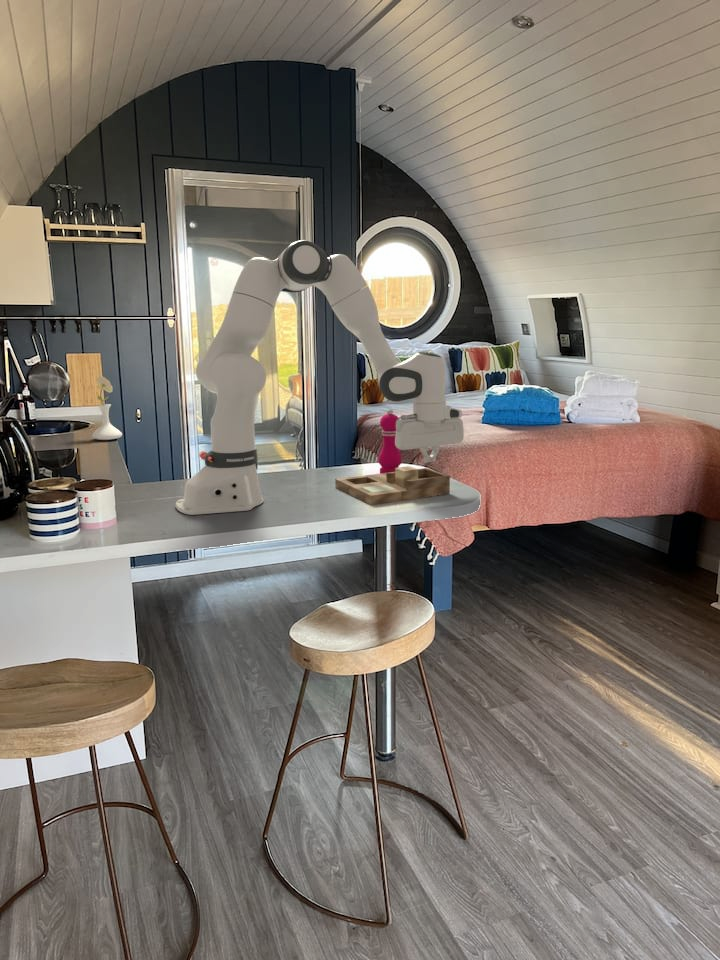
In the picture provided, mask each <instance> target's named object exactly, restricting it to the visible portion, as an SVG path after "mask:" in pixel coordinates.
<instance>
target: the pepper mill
mask: <svg viewBox="0 0 720 960" xmlns="http://www.w3.org/2000/svg"><path fill="white" fill-rule="evenodd" d="M386 413H387V414H384V415H383V416H382V417H381V418H380V420H379V425H380V427H381V429H382V430H381V435H382V437H383V440H382V442H383V444H382V447H381V450H380V453H379V454H378V457H377V458H378V459H377V461H378V465H380V468H379V474H381V473H389V472H395V468H399V467H400V466H401V465H402V461H403V458H402V457H403V456H402V454H401V452H400V449H398V448H397V447H396V446H395V435H396V420H397V419H398V418H399V416H398V415H395V414H394V411H393V409H392V408H388V409H387V410H386Z"/></svg>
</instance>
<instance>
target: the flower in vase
mask: <svg viewBox="0 0 720 960" xmlns="http://www.w3.org/2000/svg"><path fill="white" fill-rule="evenodd" d="M96 381H97V384H98V385H99V386H100V387H101V389H100V394H98V395H97V400H98V401H99V400H100V401H101V402H102V404H98V405H97V406H98V407H99V409H100V411H101V414H102V424H101V425H100V426H99V427H98V428H97V429H96V430H95V431H94V432H93V433H92V434H91V435H92V437H91V438H93V439H95V440H99V441H111V440H115V439H119V438H121V437H122V436H123V433H122V432H121V431H120V430H119V429H118V428H116V427H115V426H114V425H113V424H112V423H110V419H109V417H110V416H109V415H110V414H109V413H110V412H109V411H110V409H111V406H112V404H110V403H104V401H106V400H107V399H109V395H107V397H105V398H104V399H102V391H103V390H104V391H105V392H107V393H109V394H111V393H112V392H113V391H114V390H113V389H114V387H113V386H112V384H111V381H110V380H108V379H107V378H105V376H101V375H99V376H98V377H97V378H96Z"/></svg>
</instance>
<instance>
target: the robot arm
mask: <svg viewBox="0 0 720 960" xmlns="http://www.w3.org/2000/svg"><path fill="white" fill-rule="evenodd" d="M310 287H314V288H317V289H319V291H321V292H322V294H323V295H324V296H325V298H326V300H327V301H328V303H329V305H330V307H331V309H332V311H333V312H334V314H335V316H336V317H337V319H338V320H339V321H340V322H341V324H342V325H343V326H344V327H345V328H346V329H347V330H348V331H349V332H350V333H352V334H353V335H354V336H355V337H356V338H357V339H358V341H360V342H361V344H362V346H363V347H364V349H365V351H366V353H367V354H368V356H369V358H370V360H371V362H372V364H373V365H374V368H375V371H376V382H377V386H378V388H379V391H380V393H381V394H382V396H383V397H384V398H385V399H386V400H388V401H390V402H393V403H399V402H404V401H408V400H412V405H413V406H412V413H410V414H403V415H400V416H398V419H397V420H396V435H395V446H396V447H397V448H398V449H399V451H400V450H401V451H406V450H407V451H408V450H417V449H419V452H420V453H421V455H422V457H423V463H424V464H431V463H436V462H437V461H436V460H437V455H438V454H439V451H440V446H447V445H449V446H450V445H457V444H461V443H462V442H463V440H464V435H465V434H464V433H465V432H464V430H465V429H464V422H463V420H462V419H461V418H462V416H463V411H462V410H461V409H458V408H455V407H451V406H449V405H447V400H446V396H445V390H446V386H447V373H446V371H447V370H446V365H445V364H446V363H445V360H444V358H443V357H442V356H441V355H439V354H437V353H433V352H430V351H417V352H415V353H414V354H413V355H412V356H410V357H409V358H407V359H405V360H403V361H400V360H399V359H398V358H397V356H396V355H395V353H394V352H393V349H392V348H391V346H390V345H389V342H388V341H387V338H386V337H385V335H384V333H383V331H382V327H381V325H380V321H379V317H380V316H379V310H378V307H377V303H376V300H375V298H374V295H373V293H372V291H371V289H370V287H369V285H368V284H367V282H366V280H365V278H364V276H363V275H362V274H361V272H360V271H359V269H358V267H356V265H355V264H354V262H353V261H352V260H351V259H350V258H349V257H348V256H347V255H346V254H342V253H337V254H332V255H330V253H328V252H327V251H325V250H323V249H322V248H321V247H320V246H318V245H317V243H314V242H312V241H310V240H305V239H303V240H297V241H294V242H292V243H290V245H288V246H287V247H286V248H285V249H284V250H282V252H281V253H280V254H279V256H278V257H277V258H276V259H274V260H273V259H272V260H271V259H269V258H266V257H259V256H258V257H252V258H250V259H249V260H247V262H246V263H245V265H244V266H243V268H242V270H241V272H240V274H239V276H238V278H237V280H236V283H235V285H234V288H233V290H232V294H231V297H230V300H229V303H228V306H227V309H226V312H225V315H224V318H223V321H222V323H221V325H220V327H219V329H218V331H217V333H216V334H215V336H214V338H213V340H212V342H211V344H210V346H209V348H208V349H207V351H206V353H205V354H204V355H203V356H202V357H201V358H200V359H199V360H198V361H197V364H196V368H195V375H196V379H197V380H198V382H199V384H200V385H201V386H202V387H204V389H206V390H207V391H209V392H210V393H213V394H216V403H215V409H214V413H213V415H212V417H211V418H210V421H209V422H210V439H211V442H210V443H211V450H210V451H208V452H206V451H203V450H202V451H200V453H199V454H198V455H199V458H200V459H201V460H203V461H204V466H203V467H202V468H201V469H200V470H198V472H196V473H195V474H194V475H193V476H191V477H190V478H189V479H188V480H187V481H186V483H185V486H184V492H183V493H184V494H183V498H181V499H178V500H176V502H175V508H176V510H177V511H179V512H181V513H182V514H185V515H189V516H190V515H191V516H193V515H194V516H195V515H206V514H220V513H233V512H234V513H235V512H245V511H250V510H252V509H253V508H254V507H257V506H259V505H261V504H262V503H264V498H263V495H262V491H261V487H260V482H259V478H258V466H259V458H258V457H259V456H258V449H257V448H256V442H255V441H256V438H255V435H256V434H255V416H256V410H257V404H258V400H259V396H260V393H261V392H262V390H263V388H264V387H265V385H266V381H267V373H266V372H267V371H266V369H265V367H264V365H263V364H262V362H260V361H259V360H258V359H256V358H255V357H253V353H254V352H255V350H256V349H257V347H258V345H260V343H262V342H263V341H264V340H265V338H266V335H267V332H268V329H269V326H270V323H271V320H272V317H273V313H274V310H275V308H276V304H277V301H278V298H279V296H280V294H281V292H283V293H285V292H287V293H300V292H303V291H305V290H307V289H308V288H310ZM429 448H430V449H431V450H432V451H431V453H430V455H429V454H428V452H429Z"/></svg>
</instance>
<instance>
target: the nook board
mask: <svg viewBox="0 0 720 960" xmlns="http://www.w3.org/2000/svg"><path fill="white" fill-rule="evenodd" d="M417 469H418V479H415V480H407V481H406V487H401V486H399V485H397V484H395V472H389V473H381V474H380V473H375V474H366V475H358V476H357V475H356V476H350V477H340V478H335V482H334V483H335V488H336V489H338V490H340V491H342V492H343V493H345V494H348V495H350V496H352V497H354V498H356V499H358V500H360V501H363V502H364V503H366V504H368V505H371V506H372V505H381V504H387V503H395V502H401V501H410V500H415V499H422V498H423V497H424V498H430V497H429V496H432V497H438V496H437V495H439V496H444V495H443V494H446V495H449V494H448V493H450V494H451V491H450V488H451V487H450V486H451V475H448V474H445V473H442V472H439V471H437V470H433V469H431V468H428V467H424V468H423V467H422V468H417ZM424 498H423V499H424Z"/></svg>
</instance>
